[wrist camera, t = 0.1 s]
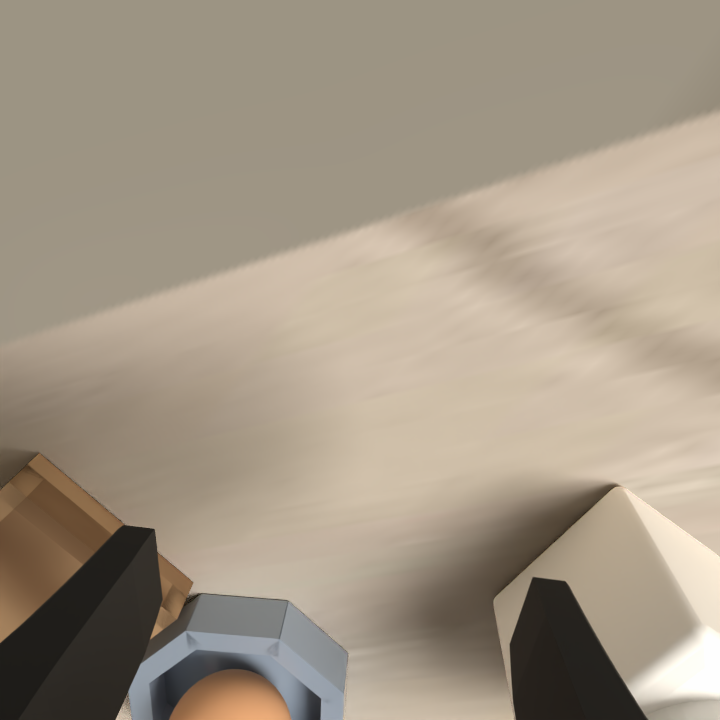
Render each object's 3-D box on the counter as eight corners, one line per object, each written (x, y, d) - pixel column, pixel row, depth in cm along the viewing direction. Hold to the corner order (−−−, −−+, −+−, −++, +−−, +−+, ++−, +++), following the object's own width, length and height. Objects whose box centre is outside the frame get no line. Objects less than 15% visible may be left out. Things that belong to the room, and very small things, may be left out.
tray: (49, 692, 29) (25, 732, 27) (-98, 584, 27) (-135, 620, 25) (193, 582, 26) (177, 619, 24) (39, 453, 24) (8, 481, 22)
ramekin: (249, 772, 30) (239, 816, 28) (108, 663, 28) (87, 703, 26) (388, 688, 27) (387, 730, 25) (243, 561, 25) (230, 597, 23)
